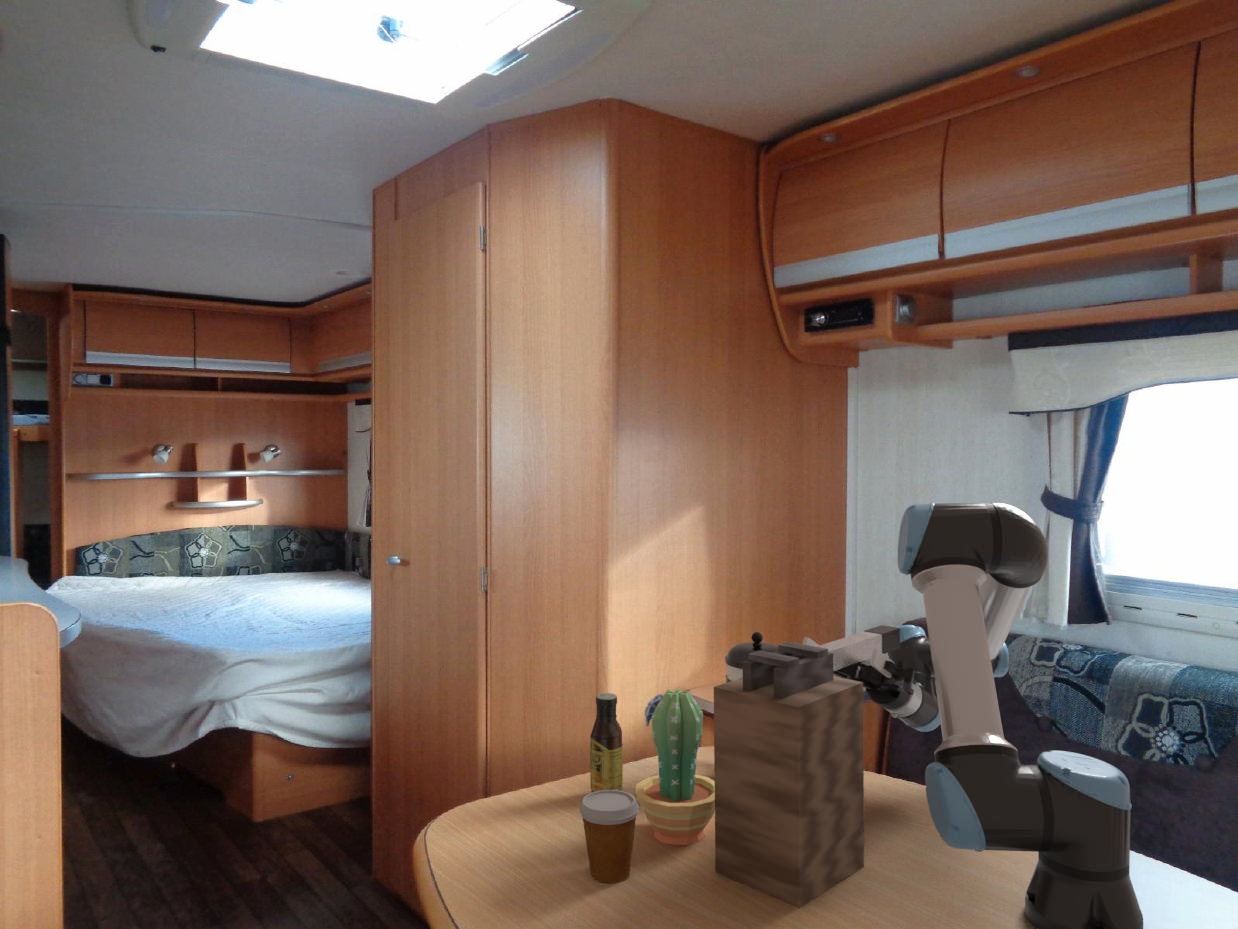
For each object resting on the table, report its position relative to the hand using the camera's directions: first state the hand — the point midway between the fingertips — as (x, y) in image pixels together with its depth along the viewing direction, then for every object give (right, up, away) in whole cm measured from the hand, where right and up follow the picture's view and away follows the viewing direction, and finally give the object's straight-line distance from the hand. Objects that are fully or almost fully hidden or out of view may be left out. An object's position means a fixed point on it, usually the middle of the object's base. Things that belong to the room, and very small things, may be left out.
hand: (837, 650), depth 161 cm
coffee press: (-10, -32, +30) cm, 45 cm away
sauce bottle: (-40, -33, +21) cm, 55 cm away
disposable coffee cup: (-39, -34, -10) cm, 52 cm away
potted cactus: (-27, -33, +5) cm, 43 cm away
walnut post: (-10, -33, -9) cm, 36 cm away
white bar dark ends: (+3, -2, +3) cm, 5 cm away
